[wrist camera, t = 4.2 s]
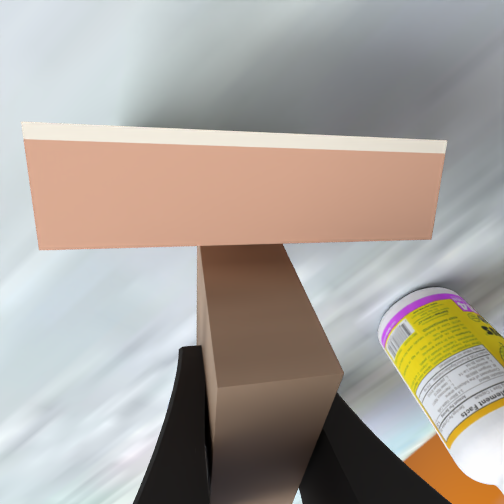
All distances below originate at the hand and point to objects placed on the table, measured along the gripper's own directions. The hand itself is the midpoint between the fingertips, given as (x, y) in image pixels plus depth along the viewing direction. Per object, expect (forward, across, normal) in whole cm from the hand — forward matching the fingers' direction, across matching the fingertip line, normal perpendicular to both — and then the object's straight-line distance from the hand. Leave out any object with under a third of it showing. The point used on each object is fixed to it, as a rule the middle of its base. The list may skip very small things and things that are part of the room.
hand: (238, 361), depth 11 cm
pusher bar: (+2, 0, 0) cm, 2 cm away
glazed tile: (+8, 0, -3) cm, 9 cm away
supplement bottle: (+9, -16, +8) cm, 19 cm away
